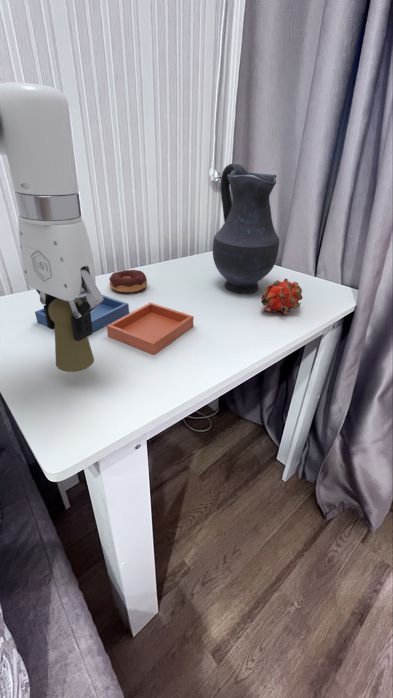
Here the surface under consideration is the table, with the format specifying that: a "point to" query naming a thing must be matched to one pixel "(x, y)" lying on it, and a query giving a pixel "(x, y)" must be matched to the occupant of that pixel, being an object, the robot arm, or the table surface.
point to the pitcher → (245, 230)
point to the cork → (68, 339)
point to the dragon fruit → (282, 296)
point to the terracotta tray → (150, 327)
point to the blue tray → (98, 313)
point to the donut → (128, 281)
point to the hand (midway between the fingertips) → (70, 330)
